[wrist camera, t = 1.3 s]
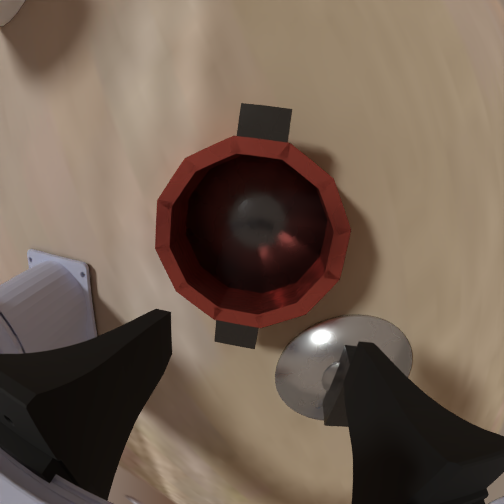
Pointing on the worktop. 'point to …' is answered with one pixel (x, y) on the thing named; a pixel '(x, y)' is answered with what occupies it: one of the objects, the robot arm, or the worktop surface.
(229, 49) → the worktop surface
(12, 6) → the foam cup
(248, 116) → the pot
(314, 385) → the lid
